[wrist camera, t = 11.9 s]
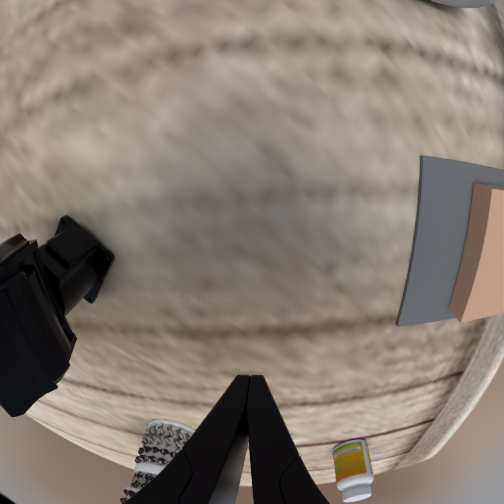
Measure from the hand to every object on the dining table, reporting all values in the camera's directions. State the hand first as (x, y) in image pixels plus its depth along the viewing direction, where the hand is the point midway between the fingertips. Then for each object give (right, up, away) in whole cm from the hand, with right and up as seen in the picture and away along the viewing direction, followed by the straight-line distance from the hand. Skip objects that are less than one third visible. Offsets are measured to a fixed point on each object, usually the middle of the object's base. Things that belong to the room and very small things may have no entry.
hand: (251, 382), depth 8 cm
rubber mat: (+21, +5, +11) cm, 24 cm away
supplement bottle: (+15, -25, +24) cm, 38 cm away
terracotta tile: (+18, +4, +9) cm, 21 cm away
